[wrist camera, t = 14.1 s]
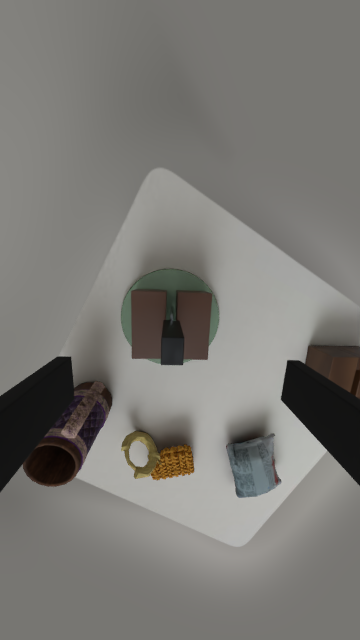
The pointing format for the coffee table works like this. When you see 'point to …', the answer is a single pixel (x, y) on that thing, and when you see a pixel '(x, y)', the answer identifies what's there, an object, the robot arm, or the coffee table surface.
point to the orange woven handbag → (159, 458)
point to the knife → (172, 342)
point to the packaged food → (253, 466)
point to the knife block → (337, 365)
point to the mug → (70, 437)
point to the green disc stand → (154, 306)
